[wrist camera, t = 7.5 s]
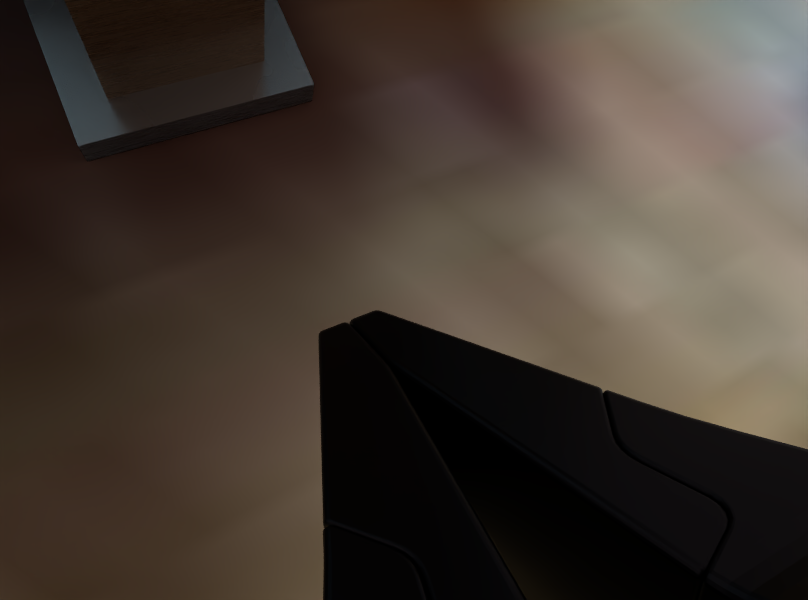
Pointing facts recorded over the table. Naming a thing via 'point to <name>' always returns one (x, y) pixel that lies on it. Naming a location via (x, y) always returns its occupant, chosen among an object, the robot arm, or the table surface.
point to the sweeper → (166, 66)
